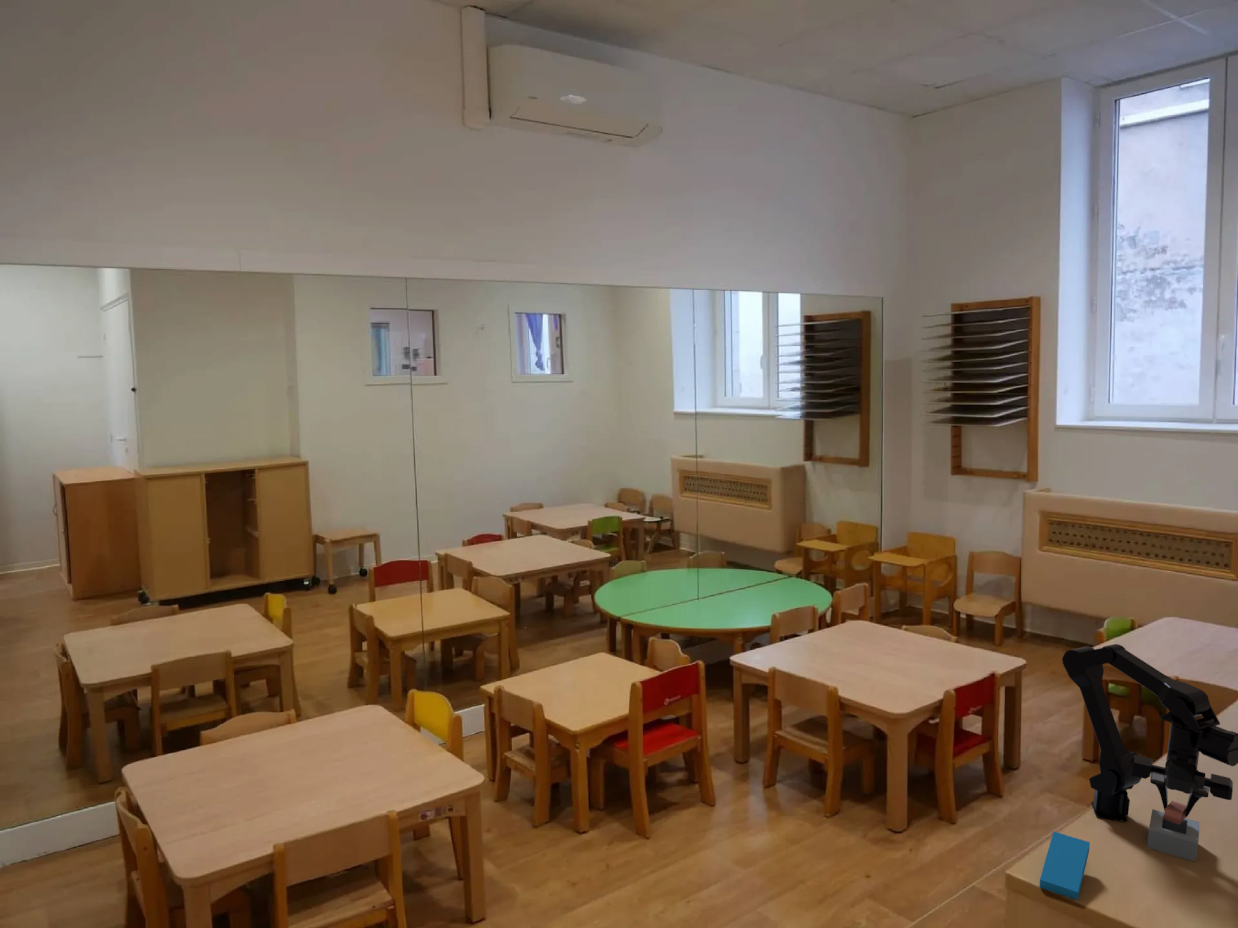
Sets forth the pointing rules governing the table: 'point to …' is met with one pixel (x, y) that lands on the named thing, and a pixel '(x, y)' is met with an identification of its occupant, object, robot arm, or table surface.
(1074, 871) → the blue rectangular box
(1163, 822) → the posting box
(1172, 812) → the pink rectangular block
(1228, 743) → the robot arm
